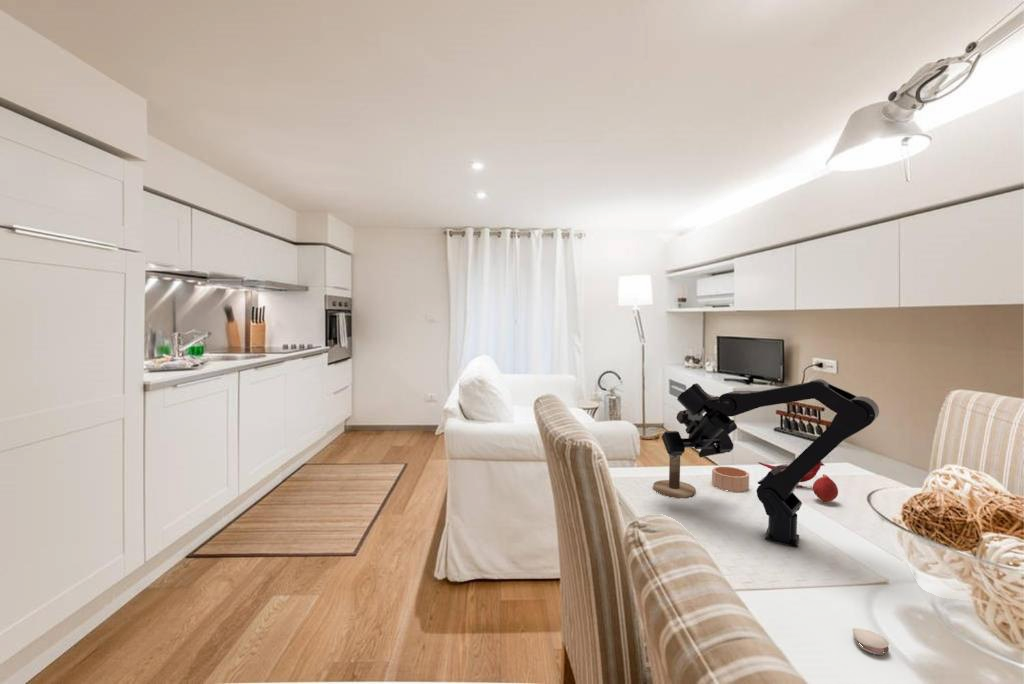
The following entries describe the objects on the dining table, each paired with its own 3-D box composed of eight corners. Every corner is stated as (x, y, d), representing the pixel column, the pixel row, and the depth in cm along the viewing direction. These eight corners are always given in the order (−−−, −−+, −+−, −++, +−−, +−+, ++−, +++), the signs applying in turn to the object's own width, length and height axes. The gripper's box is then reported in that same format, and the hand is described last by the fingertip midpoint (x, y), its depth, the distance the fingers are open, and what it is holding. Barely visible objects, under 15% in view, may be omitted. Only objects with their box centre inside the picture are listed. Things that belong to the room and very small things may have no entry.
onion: (829, 498, 129) (830, 471, 129) (842, 507, 124) (843, 478, 123) (808, 497, 130) (809, 470, 130) (819, 506, 124) (821, 477, 124)
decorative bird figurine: (824, 492, 134) (826, 459, 134) (757, 483, 142) (758, 451, 141) (823, 489, 137) (824, 456, 136) (756, 480, 144) (757, 449, 144)
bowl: (745, 494, 132) (746, 479, 132) (709, 487, 138) (709, 472, 138) (750, 484, 140) (751, 470, 140) (715, 478, 146) (716, 464, 146)
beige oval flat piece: (871, 660, 68) (872, 644, 67) (841, 637, 72) (842, 622, 72) (895, 656, 68) (896, 640, 68) (864, 634, 73) (864, 619, 73)
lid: (690, 502, 127) (690, 462, 126) (647, 492, 134) (648, 455, 133) (700, 489, 136) (700, 452, 136) (660, 481, 143) (660, 446, 143)
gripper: (728, 401, 125) (703, 430, 136) (665, 402, 121) (645, 433, 133) (746, 436, 117) (718, 464, 129) (681, 439, 114) (658, 468, 125)
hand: (684, 456), depth 129 cm, fingers open, 9 cm apart
